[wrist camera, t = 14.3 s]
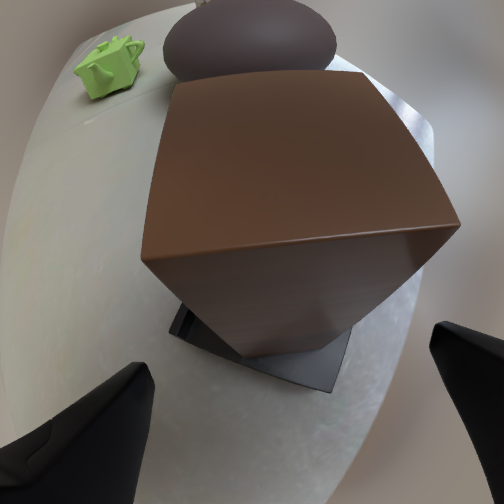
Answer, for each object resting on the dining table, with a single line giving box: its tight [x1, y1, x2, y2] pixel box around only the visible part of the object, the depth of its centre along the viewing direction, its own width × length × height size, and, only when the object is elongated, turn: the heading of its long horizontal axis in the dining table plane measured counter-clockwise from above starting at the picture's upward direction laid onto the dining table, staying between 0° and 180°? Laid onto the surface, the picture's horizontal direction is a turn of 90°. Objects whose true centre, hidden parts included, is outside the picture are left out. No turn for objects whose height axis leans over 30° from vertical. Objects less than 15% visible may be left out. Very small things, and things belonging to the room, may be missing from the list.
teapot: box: [74, 36, 145, 100], centre depth 37 cm, size 15×13×11 cm
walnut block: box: [141, 70, 461, 358], centre depth 10 cm, size 5×5×14 cm
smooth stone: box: [163, 0, 337, 82], centre depth 30 cm, size 25×25×15 cm
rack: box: [169, 302, 352, 393], centre depth 20 cm, size 10×22×6 cm, turn 159°
